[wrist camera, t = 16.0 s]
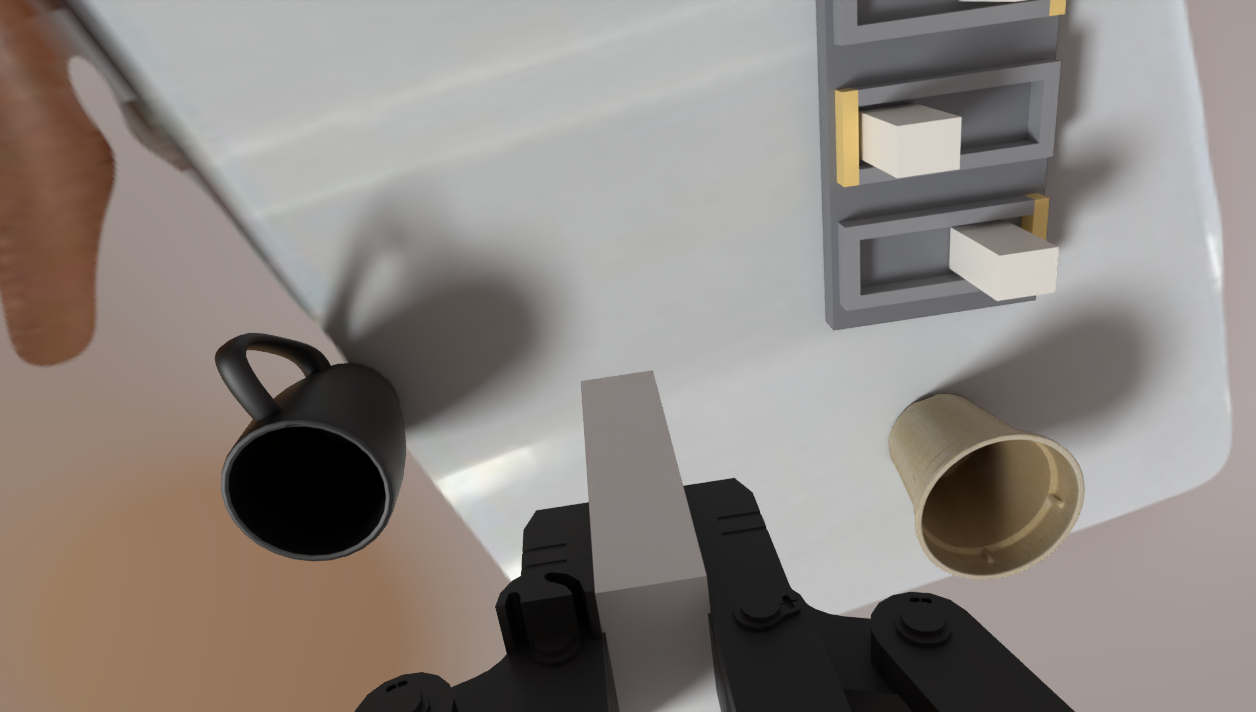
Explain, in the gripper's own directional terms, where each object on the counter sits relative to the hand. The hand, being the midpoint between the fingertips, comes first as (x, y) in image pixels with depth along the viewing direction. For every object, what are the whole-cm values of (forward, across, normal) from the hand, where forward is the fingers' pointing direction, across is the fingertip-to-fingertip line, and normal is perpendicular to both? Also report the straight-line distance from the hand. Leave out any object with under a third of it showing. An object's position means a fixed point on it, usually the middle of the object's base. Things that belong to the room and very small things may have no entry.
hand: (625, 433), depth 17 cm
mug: (+30, -16, -10) cm, 35 cm away
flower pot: (+30, +20, -20) cm, 41 cm away
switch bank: (+29, +19, 0) cm, 35 cm away
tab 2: (+28, +21, -7) cm, 36 cm away
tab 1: (+28, +16, 0) cm, 32 cm away
